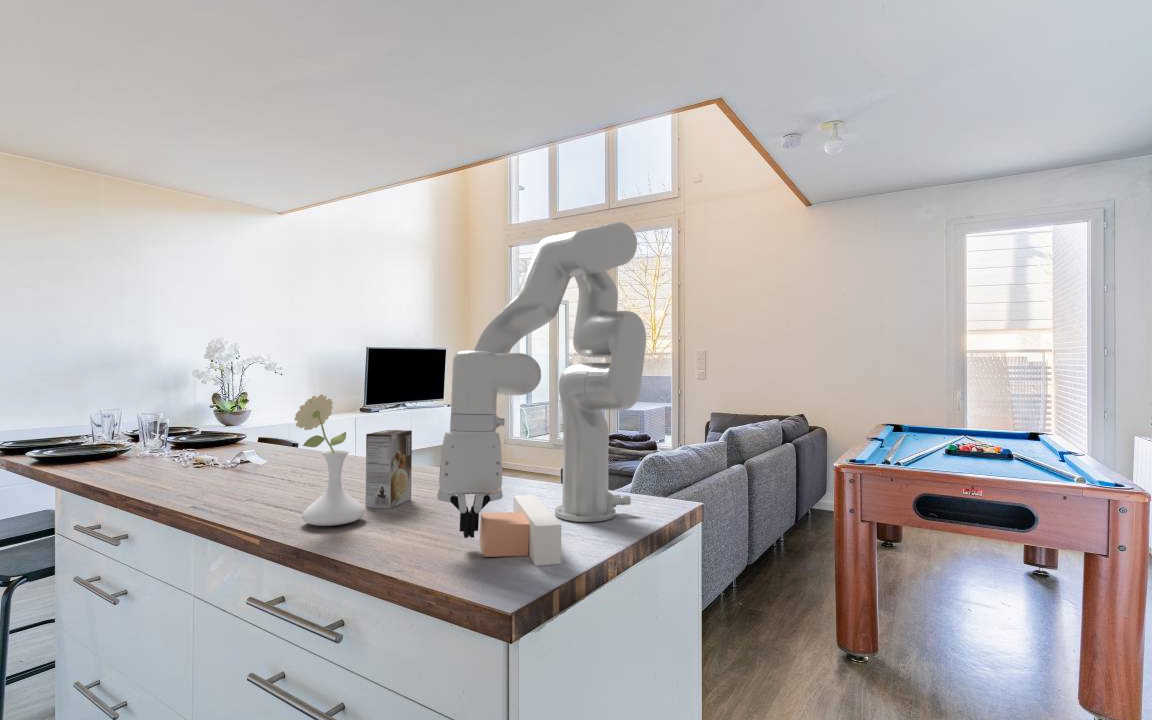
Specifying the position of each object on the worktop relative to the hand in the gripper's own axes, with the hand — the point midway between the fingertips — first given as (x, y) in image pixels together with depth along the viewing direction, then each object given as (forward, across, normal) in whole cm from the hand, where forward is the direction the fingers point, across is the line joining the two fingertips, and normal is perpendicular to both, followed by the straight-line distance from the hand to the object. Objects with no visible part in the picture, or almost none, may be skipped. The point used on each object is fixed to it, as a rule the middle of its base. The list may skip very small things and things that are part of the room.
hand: (468, 535), depth 93 cm
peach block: (+2, -6, +1) cm, 6 cm away
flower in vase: (+3, +25, -23) cm, 34 cm away
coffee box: (+2, +15, -38) cm, 41 cm away
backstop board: (+2, -11, -1) cm, 12 cm away
